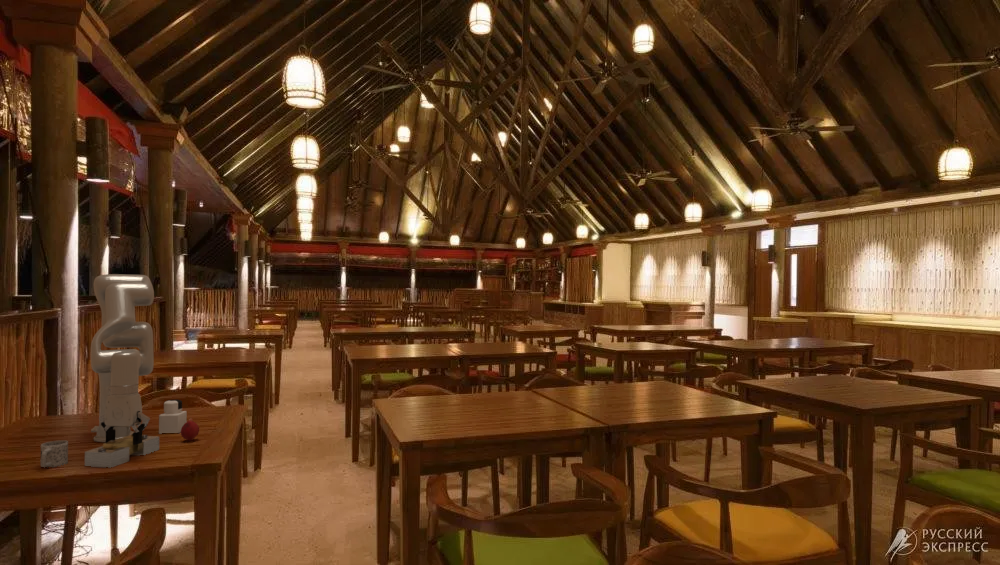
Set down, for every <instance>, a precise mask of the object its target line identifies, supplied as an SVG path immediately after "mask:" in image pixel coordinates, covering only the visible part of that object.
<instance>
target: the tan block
mask: <svg viewBox="0 0 1000 565" xmlns="http://www.w3.org/2000/svg"><path fill="white" fill-rule="evenodd" d="M102 446H103V448H106V450H115V449H118V448H120V447H123V446H124V447H129V454H132V453H134V452H137V451H138V444H137V445H133V434H131V435H129V436H126V437H123V438H120V439H116V440H110V441H109V442H107V443H106V442H103V444H102Z"/></svg>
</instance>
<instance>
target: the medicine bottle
mask: <svg viewBox="0 0 1000 565" xmlns="http://www.w3.org/2000/svg"><path fill="white" fill-rule="evenodd" d="M187 416H188V413H187V410H183V401H182V400H181V399H169V400H168V399H167V400H166V401H164V403H163V413H160V414H158V434H159V435H162V433H178V434H181V428H182V426H183V425H184V424H185V423H186V422H187V421H188V419H187V418H188V417H187Z"/></svg>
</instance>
